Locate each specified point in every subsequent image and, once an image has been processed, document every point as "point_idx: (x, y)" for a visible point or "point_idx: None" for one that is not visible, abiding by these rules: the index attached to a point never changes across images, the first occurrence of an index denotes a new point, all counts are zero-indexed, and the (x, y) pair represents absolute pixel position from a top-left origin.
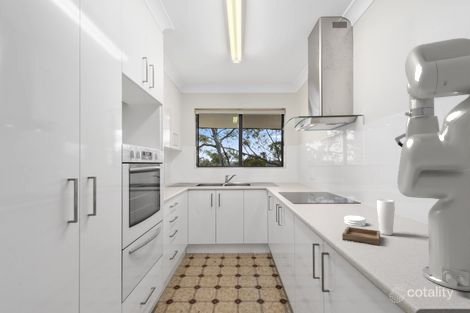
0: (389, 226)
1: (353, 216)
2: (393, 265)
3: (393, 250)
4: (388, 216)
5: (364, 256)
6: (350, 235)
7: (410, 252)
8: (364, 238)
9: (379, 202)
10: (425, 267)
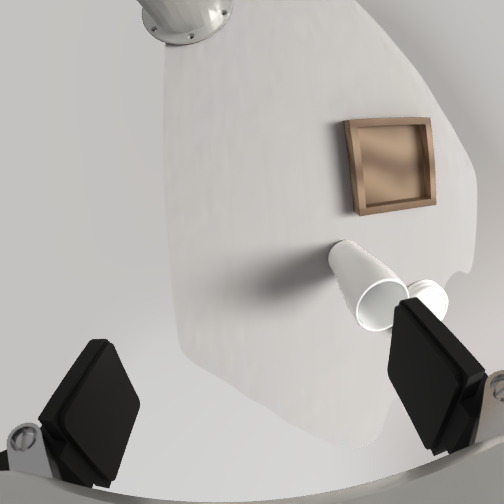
0: (342, 251)
1: None
2: (286, 8)
3: (306, 105)
4: (354, 260)
5: (347, 25)
6: (412, 117)
7: (270, 116)
8: (380, 118)
9: (399, 279)
10: (228, 11)
